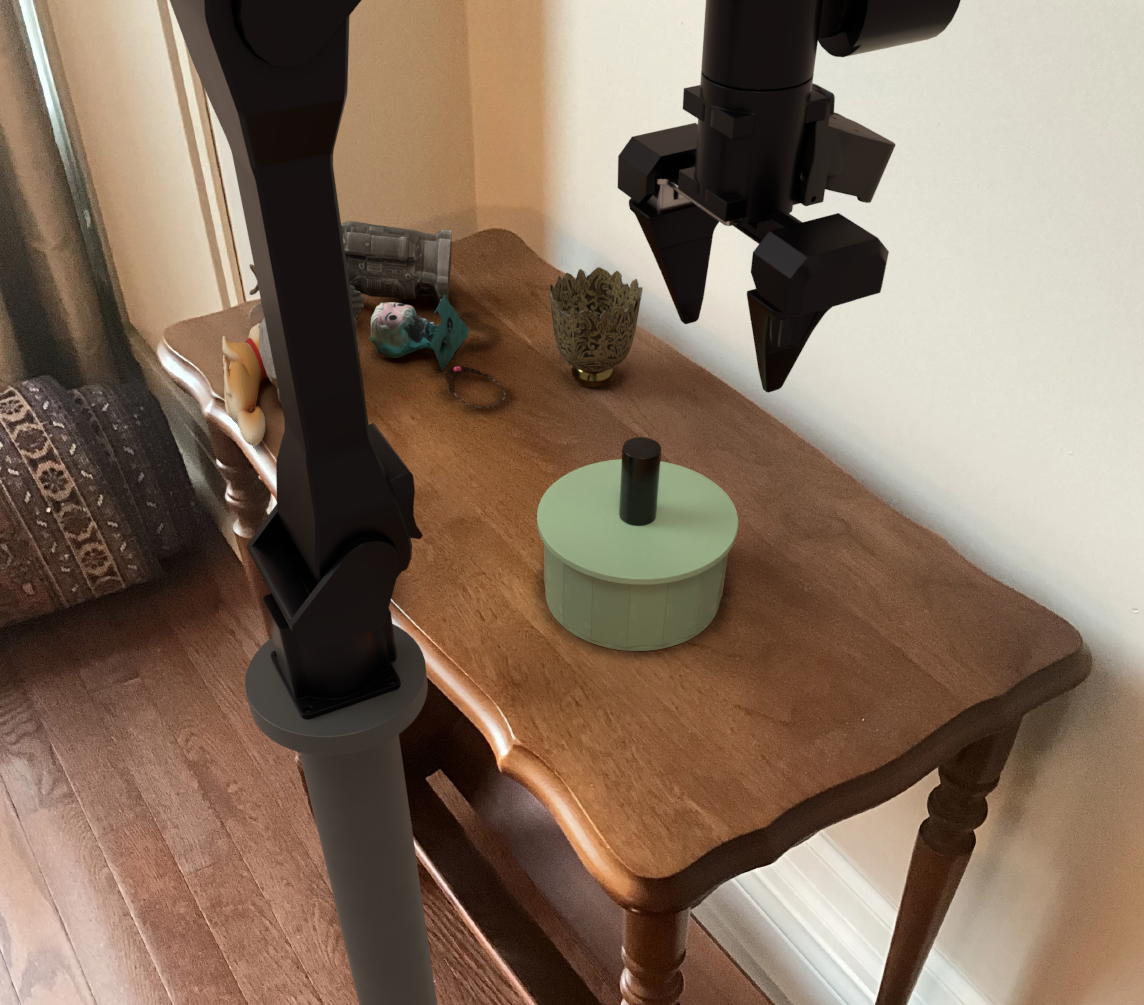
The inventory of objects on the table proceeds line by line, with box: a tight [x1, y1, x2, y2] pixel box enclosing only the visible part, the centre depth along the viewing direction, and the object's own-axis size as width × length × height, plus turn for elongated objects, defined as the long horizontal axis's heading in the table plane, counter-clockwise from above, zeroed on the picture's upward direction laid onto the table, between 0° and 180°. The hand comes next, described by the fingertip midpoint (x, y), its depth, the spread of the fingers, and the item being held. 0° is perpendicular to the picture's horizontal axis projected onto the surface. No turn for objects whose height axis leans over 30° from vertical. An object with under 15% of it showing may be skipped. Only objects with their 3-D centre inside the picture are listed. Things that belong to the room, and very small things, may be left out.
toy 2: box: [341, 220, 453, 304], centre depth 104 cm, size 8×6×15 cm
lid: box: [536, 436, 739, 585], centre depth 74 cm, size 13×13×6 cm
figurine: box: [369, 294, 470, 372], centre depth 98 cm, size 12×9×8 cm
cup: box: [548, 266, 643, 388], centre depth 96 cm, size 8×7×8 cm
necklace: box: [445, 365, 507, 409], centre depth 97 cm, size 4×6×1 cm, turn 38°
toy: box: [221, 323, 269, 446], centre depth 95 cm, size 3×17×5 cm
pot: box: [543, 543, 729, 652], centre depth 78 cm, size 12×12×6 cm
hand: (729, 354), depth 71 cm, fingers open, 9 cm apart
